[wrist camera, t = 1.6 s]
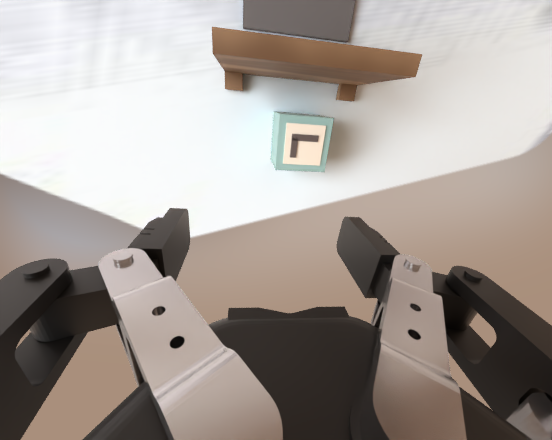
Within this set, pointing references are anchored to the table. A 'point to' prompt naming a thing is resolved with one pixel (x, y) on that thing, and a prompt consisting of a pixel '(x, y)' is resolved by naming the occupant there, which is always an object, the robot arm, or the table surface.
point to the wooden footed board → (307, 60)
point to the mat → (300, 17)
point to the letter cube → (300, 141)
